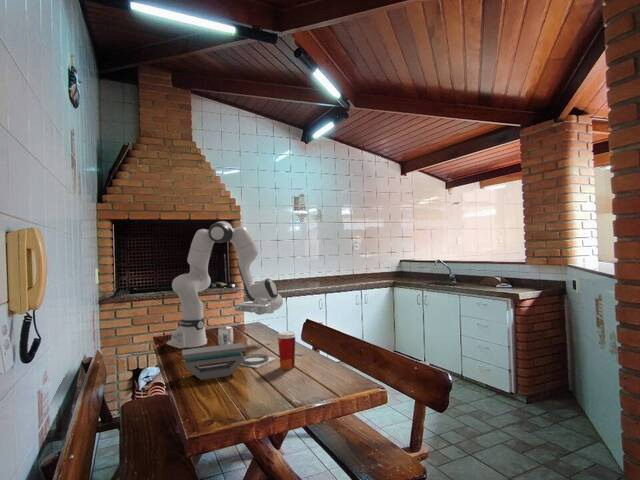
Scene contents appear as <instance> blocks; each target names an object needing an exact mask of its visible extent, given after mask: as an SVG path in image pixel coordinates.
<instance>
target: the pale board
mask: <svg viewBox="0 0 640 480" xmlns="http://www.w3.org/2000/svg"><path fill="white" fill-rule="evenodd" d="M264 359H265V358H262V357H253V358H248V359H245V361H260V360H264ZM277 359H278V358H277V357H271V356H269V360H268V361H267V362H265V363H263V364H257V365H247V364H243V363H241V364H240V365H239V366H242V367H246V368H252V369H260V368H261V367H264V366H266V365H268V364H270V363H272V362H274V361H276V360H277Z"/></svg>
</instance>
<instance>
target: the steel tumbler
mask: <svg viewBox="0 0 640 480" xmlns="http://www.w3.org/2000/svg"><path fill="white" fill-rule="evenodd" d="M217 332H218V334H217V340H218V346H220V345H228V344H234V328H233V326H231V325H224V326H219V327H218V330H217Z"/></svg>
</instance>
